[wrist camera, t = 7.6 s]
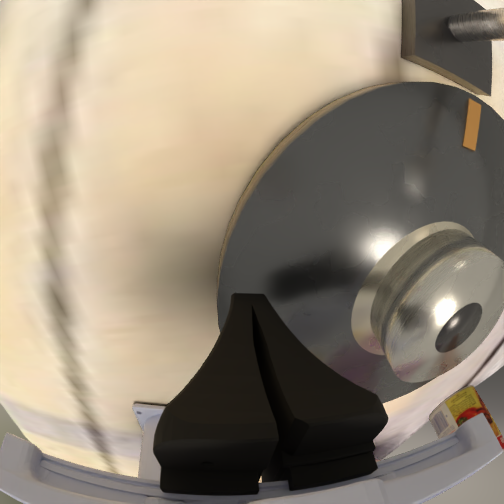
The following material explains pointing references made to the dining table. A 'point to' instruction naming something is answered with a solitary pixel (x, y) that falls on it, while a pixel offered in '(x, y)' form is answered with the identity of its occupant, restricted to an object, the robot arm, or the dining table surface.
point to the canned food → (461, 413)
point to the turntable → (362, 213)
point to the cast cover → (437, 304)
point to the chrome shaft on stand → (452, 39)
